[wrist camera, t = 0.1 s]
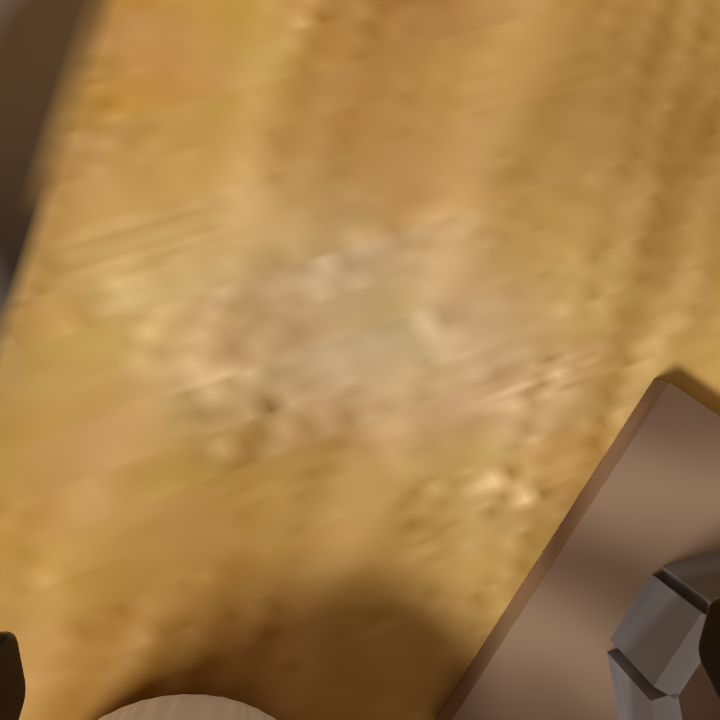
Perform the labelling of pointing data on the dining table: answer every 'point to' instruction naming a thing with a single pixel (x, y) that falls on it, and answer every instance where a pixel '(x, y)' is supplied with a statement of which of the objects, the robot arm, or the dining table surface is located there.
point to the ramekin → (187, 709)
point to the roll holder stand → (617, 587)
